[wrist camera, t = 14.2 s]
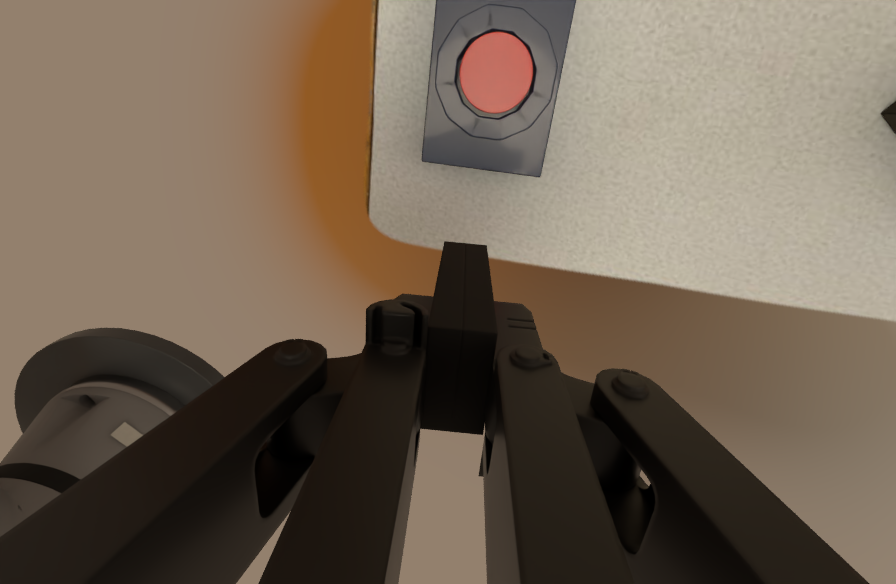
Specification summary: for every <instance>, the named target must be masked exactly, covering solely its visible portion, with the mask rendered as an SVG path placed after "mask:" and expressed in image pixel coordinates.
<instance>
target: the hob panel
mask: <svg viewBox="0 0 896 584" xmlns="http://www.w3.org/2000/svg"><path fill="white" fill-rule="evenodd" d="M882 115H883V116H884V118H885V119H886V120H887V122H888V123H889V124H890V126H891V127H892V129H893V130H894V131H895V133H896V102H895V103H894V104H892V105H891V106H890V107H889V108H887V109H886V110H885V111H884V112H883V113H882Z"/></svg>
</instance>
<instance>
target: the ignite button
mask: <svg viewBox="0 0 896 584" xmlns="http://www.w3.org/2000/svg"><path fill="white" fill-rule="evenodd" d="M532 77H533V64H532V59H531V56H530V53H529V51H528V50H527V48H526V46H525V45H524V44H523V43H522V42H521V41H520V40H519V39H518V38H517V37H515V36H513V35H511V34H509V33H505V32H491V33H487V34H485V35H482V36H481V37H479V38H478V39H476V40H475V41H474V42H473V43H472V44H471V45H470V46H469V48H468V49H467V50H466V52H465V54H464V56H463V58H462V62H461V66H460V83H461V87H462V90H463V93H464V95H465V96H466V98H467V99H468V101H469V102H470V103H471V104H472V105H473V106H474V107H476V108H477V109H479V110H481V111H483V112H487V113H502V112H506V111H508V110H510V109H512V108H514V107H515V106H517V105H518V104H519V103H520V102H521V101H522V100H523V98H524V97H525V96H526V94H527V92H528V90H529V88H530V85H531V82H532Z"/></svg>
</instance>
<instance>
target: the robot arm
mask: <svg viewBox="0 0 896 584" xmlns="http://www.w3.org/2000/svg"><path fill="white" fill-rule="evenodd" d="M484 424H485V438H484V444H483V451H482V458H481V464H480V471H479V476H483V477H484V505H485V534H486V535H485V536H486V564H487V584H869V583H868V582H867V581H866V580H865V579H864V578H863V577H862V576H861V575H860V574H859V573H858V572H856V571H855V570H854V569H853V568H852V567H851V566H850V565H849V564H848V563H847V562H846V561H845V560H844V559H843V558H842V557H840V555H838V554H837V553H836V552H835V551H834V550H833V549H832V548H831V547H830V546H829V545H828V544H827V543H825V541H824V540H822V539H821V538H820V537H819V536H818V535H817V534H816V533H815V532H814V531H813V530H812V529H810V527H809V526H808V525H807V524H805V523H804V522H803V521H802V520H801V519H800V518H799V517H798V516H797V515H796V514H795V513H794V512H793V511H792V510H791V509H790V508H788V507H787V506H786V505H785V504H784V503H783V502H782V501H781V500H780V499H779V498H778V497H777V496H776V495H774V493H772V492H771V491H770V490H769V489H768V488H767V487H766V486H765V485H764V484H763V483H762V482H761V481H760V480H759V479H757V478H756V476H754V475H753V474H752V473H751V472H750V471H749V470H748V469H747V468H746V467H745V466H744V465H743V464H742V463H741V462H740V461H738V460H737V459H736V458H735V457H734V456H733V455H732V454H731V453H730V452H729V451H728V450H727V449H726V448H725V447H724V446H723V445H721V444H720V443H719V442H718V441H717V440H716V439H715V438H714V437H713V436H712V435H711V434H710V433H709V432H708V431H707V430H706V429H704V428H703V427H702V426H701V425H700V424H699V423H698V422H697V421H696V420H695V419H694V418H693V417H692V416H691V415H690V414H689V413H687V412H686V411H685V410H684V409H683V408H682V407H681V406H680V405H679V404H678V403H677V402H676V401H675V400H674V399H672V398H671V397H670V396H669V395H668V394H667V393H666V392H665V391H664V390H663V389H662V388H661V387H660V386H659V385H657V384H656V383H655V382H653V381H652V380H650V379H649V378H647V377H645V376H643V375H640V374H639V373H637V372H634V371H630V370H626V369H607V370H602V371H601V372H600V373H599V374H597V376H596V380H595V384H594V383H590V382H586V381H583V380H580V379H576V378H573V377H570V376H568V375H565V374H563V373H562V372H561V370H560V367H559V365H558V362H557V360H556V359H555V358H554V356H553V355H552V354H550V353H549V352H547V351H546V350H543V348H542V345H541V342H540V338H539V335H538V332H537V330H536V326H535V323H534V319H533V316H532V313H531V311H529V310H528V309H527V308H526V307H525V306H524V305H523V304H517V303H506V302H497V301H494V300H493V292H492V285H491V276H490V269H489V260H488V252H487V245H477V244H467V243H456V242H446V241H444V246H443V251H442V256H441V261H440V267H439V272H438V277H437V282H436V287H435V292H434V297H431V296H421V295H411V294H401V295H400V296H398V297H397V298H395V299H393V300H384V301H379V302H377V303H374V304H371V305H370V306H369V307H368V308H367V309H366V344H365V346H364V349H363V351H362V353H360V354H357V355H353V356H348V357H340V358H328V359H327V351H326V349H325V348H324V347H323V346H322V345H321V344H319V343H316V342H314V341H310V340H303V339H295V340H294V339H290V340H286V341H283V342H279V343H276V344H273V345H271V346H269V347H267V348H265V349H264V350H263V351H261V352H260V353H259V354H257V355H256V356H254V357H253V358H251V359H250V360H249V361H247V362H246V363H244V364H243V365H242V366H240V367H239V368H237V369H236V370H234V371H233V372H232V373H230V374H229V375H227V376H226V377H225V378H223V379H222V380H220V381H219V382H218V383H216V384H215V385H213V386H212V387H211V388H209V389H208V390H206V391H205V392H204V393H202V394H201V395H199V396H198V397H196V398H195V399H194V400H192V401H191V402H189V403H188V404H187V405H184V404H182V403H181V402H180V401H179V400H177V399H176V398H174V397H173V396H172V395H170V394H168V393H167V392H165V391H163V390H161V389H159V388H158V387H156V386H153V385H151V384H149V383H146V382H143V381H140V380H137V379H134V378H130V377H124V376H117V375H98V376H91V377H88V378H84V379H82V380H79V381H77V382H75V383H74V384H72V385H70V386H69V387H67V388H66V389H65V390H63V391H62V392H60V393H59V394H57V395H56V396H54V397H53V398H52V399H51V400H50V401H49V402H48V403H47V404H46V405H45V406H44V408H43V409H42V410H41V411H40V413H39V414H38V415H37V416H36V418H35V419H34V420H33V422H32V423H31V424H30V425H29V427H28V428H27V429H26V431H25V432H24V433H23V435H22V436H21V437H20V438H19V440H18V441H17V442H16V443H15V445H14V446H13V447H12V449H11V450H10V451H9V453H8V454H7V455H6V457H5V458H4V459H3V460H2V462H1V463H0V584H236V583H237V582H238V580H239V579H240V578H241V576H242V575H243V573H244V572H245V571H246V570H247V568H248V567H249V565H250V564H251V563H252V562H253V560H254V559H255V558H256V556H257V555H258V554H259V552H260V551H261V550H262V548H263V547H264V545H265V544H266V543H267V542H268V540H269V539H270V538H271V536H272V535H273V534H274V532H275V531H276V529H277V528H278V527H279V526H280V524H281V523H282V521H283V520H284V519H285V518H286V516H287V515H288V514H289V512H290V511H291V512H290V514H289V517H288V519H287V521H286V523H285V526H284V528H283V530H282V532H281V534H280V537H279V539H278V541H277V544H276V546H275V548H274V550H273V552H272V555H271V557H270V559H269V561H268V564H267V566H266V568H265V570H264V572H263V575H262V577H261V579H260V582H259V584H398V582H399V574H400V568H401V562H402V555H403V548H404V541H405V535H406V528H407V521H408V515H409V507H410V501H411V495H412V488H413V481H414V475H415V468H416V461H417V455H418V448H419V438H420V429H430V430H440V431H450V432H460V433H470V434H481V435H483V430H484ZM641 470H642V471H643V472H644V473H645V475H646V476H647V478H648V479H649V481H650V483H651V484H650V486H648V485H647V484H646V483H645V482H644V481H643V479H642V478H641V477H640V472H641Z"/></svg>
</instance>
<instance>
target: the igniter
mask: <svg viewBox="0 0 896 584" xmlns="http://www.w3.org/2000/svg"><path fill="white" fill-rule="evenodd" d="M575 3H576V0H436V10H435V21H434V31H433V42H432V53H431V64H430V75H429V85H428V96H427V107H426V118H425V129H424V139H423V150H422V162H430V163H437V164H444V165H452V166H459V167H467V168H474V169H482V170H489V171H497V172H504V173H512V174H519V175H527V176H534V177H540V176H541V172H542V167H543V162H544V157H545V152H546V147H547V142H548V137H549V132H550V127H551V122H552V117H553V112H554V107H555V102H556V97H557V92H558V88H559V83H560V78H561V73H562V68H563V63H564V58H565V53H566V48H567V43H568V38H569V33H570V28H571V23H572V18H573V13H574V8H575ZM491 32H505V33H509V34H511V35H513V36H515V37H517V38H518V39H519V40H520V41H521V42H522V43H523V44H524V45H525V46H526V48H527V50H528V51H529V53H530V56H531V59H532V64H533V77H532V82H531V85H530V88H529V90H528V92H527V94H526V96H525V97H524V98H523V100H522V101H521V102H520V103H519V104H518V105H517V106H515V107H514V108H512V109H510V110H508V111H506V112H502V113H487V112H483V111H481V110H479V109H477V108H476V107H474V106H473V105H472V104H471V103H470V102H469V101H468V99H467V98H466V96H465V95H464V93H463V90H462V87H461V83H460V66H461V62H462V58H463V56H464V54H465V52H466V50H467V49H468V48H469V46H470V45H471V44H472V43H473V42H474V41H475V40H476V39H478V38H479V37H481V36H482V35H485V34H487V33H491Z"/></svg>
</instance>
